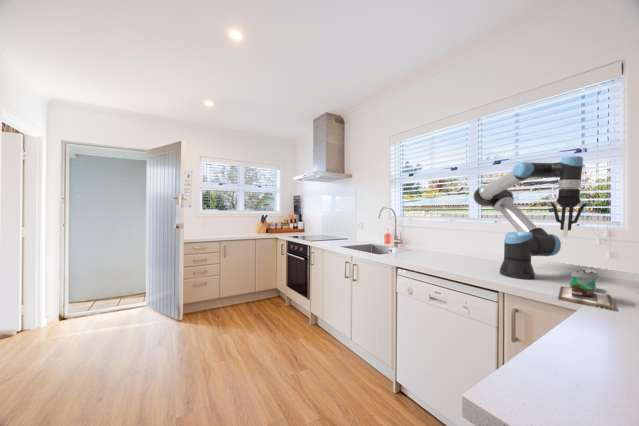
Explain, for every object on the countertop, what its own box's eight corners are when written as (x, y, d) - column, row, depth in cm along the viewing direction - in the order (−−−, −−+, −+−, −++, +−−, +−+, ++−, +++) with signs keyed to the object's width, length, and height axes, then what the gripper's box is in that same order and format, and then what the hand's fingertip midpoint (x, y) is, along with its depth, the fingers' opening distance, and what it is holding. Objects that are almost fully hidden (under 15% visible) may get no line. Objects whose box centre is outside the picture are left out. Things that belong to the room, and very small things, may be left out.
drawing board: (558, 299, 104) (558, 296, 104) (560, 288, 118) (560, 285, 118) (614, 310, 94) (614, 307, 94) (609, 297, 108) (610, 294, 108)
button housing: (570, 288, 119) (570, 281, 119) (570, 284, 125) (570, 278, 124) (595, 292, 113) (595, 285, 113) (594, 288, 119) (595, 281, 119)
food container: (591, 300, 100) (592, 275, 99) (570, 295, 105) (571, 271, 105) (601, 295, 106) (603, 271, 106) (581, 290, 111) (582, 267, 111)
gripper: (550, 188, 127) (546, 235, 129) (588, 188, 118) (583, 239, 120) (552, 188, 133) (548, 234, 134) (588, 189, 123) (583, 237, 125)
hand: (564, 236), depth 127 cm, fingers closed
